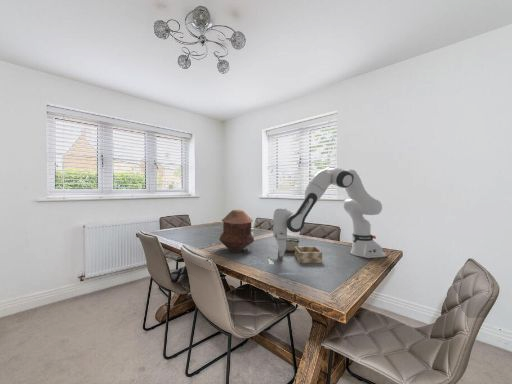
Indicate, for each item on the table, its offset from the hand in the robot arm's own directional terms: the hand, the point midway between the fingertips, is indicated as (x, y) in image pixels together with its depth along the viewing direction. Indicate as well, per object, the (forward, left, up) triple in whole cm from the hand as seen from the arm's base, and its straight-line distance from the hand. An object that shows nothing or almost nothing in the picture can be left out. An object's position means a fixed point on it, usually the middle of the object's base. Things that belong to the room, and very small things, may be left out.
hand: (280, 254), depth 149 cm
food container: (-10, -18, -4) cm, 21 cm away
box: (-18, 0, -4) cm, 18 cm away
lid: (0, 0, -4) cm, 4 cm away
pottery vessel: (+29, -25, -4) cm, 39 cm away
